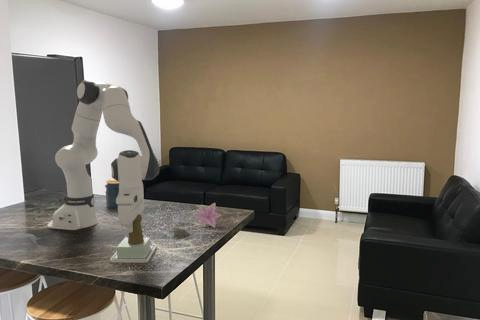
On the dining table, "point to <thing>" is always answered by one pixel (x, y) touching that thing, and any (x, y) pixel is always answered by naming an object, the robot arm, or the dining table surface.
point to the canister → (112, 193)
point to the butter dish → (134, 252)
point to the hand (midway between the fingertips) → (133, 228)
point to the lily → (207, 215)
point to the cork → (136, 232)
